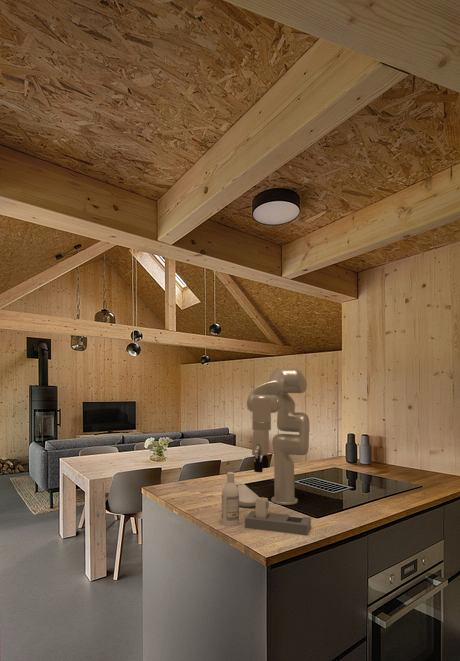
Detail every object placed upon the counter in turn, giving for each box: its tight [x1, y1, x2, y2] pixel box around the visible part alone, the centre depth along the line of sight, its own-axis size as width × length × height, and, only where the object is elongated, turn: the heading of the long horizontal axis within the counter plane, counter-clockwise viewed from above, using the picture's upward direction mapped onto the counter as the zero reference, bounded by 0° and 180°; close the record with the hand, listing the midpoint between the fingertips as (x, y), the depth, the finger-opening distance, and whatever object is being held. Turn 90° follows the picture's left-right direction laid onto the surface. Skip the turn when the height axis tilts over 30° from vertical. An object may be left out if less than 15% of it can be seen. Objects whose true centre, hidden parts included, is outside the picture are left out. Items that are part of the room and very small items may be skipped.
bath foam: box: [221, 471, 240, 527], centre depth 166 cm, size 7×7×20 cm
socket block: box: [244, 510, 312, 536], centre depth 161 cm, size 10×24×4 cm, turn 71°
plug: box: [255, 496, 270, 519], centre depth 164 cm, size 4×5×10 cm
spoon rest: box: [236, 483, 259, 508], centre depth 197 cm, size 24×12×7 cm, turn 14°
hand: (261, 469), depth 166 cm, fingers open, 9 cm apart
